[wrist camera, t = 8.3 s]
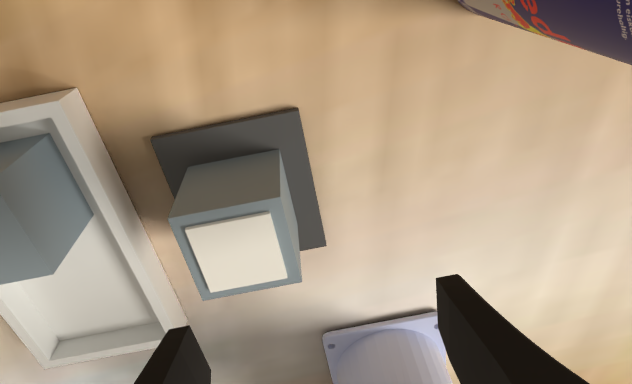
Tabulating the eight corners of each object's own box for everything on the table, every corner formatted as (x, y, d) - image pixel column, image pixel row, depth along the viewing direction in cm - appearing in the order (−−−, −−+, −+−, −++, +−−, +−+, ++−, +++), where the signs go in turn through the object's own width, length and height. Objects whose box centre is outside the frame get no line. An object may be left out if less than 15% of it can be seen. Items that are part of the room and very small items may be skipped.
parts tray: (187, 319, 26) (182, 343, 24) (58, 344, 26) (44, 369, 24) (77, 87, 18) (58, 100, 17) (-104, 124, 18) (-140, 140, 17)
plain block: (94, 214, 21) (53, 274, 17) (7, 231, 21) (-53, 295, 17) (49, 133, 19) (-9, 180, 15) (-48, 152, 19) (-131, 204, 15)
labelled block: (297, 224, 22) (302, 285, 18) (215, 240, 23) (202, 304, 18) (279, 149, 20) (280, 199, 16) (188, 166, 20) (166, 221, 16)
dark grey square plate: (325, 241, 24) (326, 245, 23) (204, 265, 24) (203, 269, 23) (298, 107, 20) (298, 110, 19) (152, 136, 20) (150, 140, 19)
